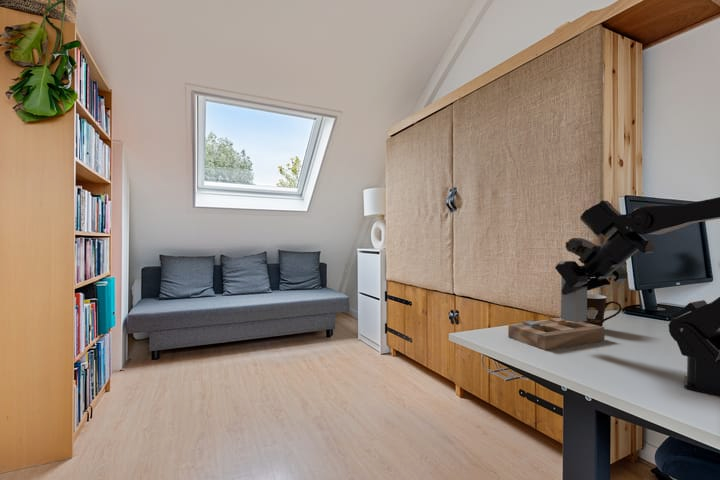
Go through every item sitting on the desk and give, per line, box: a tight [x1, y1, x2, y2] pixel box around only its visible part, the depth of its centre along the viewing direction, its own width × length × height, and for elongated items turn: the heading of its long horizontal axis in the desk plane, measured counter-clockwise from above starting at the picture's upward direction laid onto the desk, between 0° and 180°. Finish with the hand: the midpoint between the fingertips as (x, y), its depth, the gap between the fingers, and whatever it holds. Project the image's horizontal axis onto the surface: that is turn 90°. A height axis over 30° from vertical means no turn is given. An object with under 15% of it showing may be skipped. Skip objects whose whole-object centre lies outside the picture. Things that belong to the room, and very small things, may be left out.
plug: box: [560, 275, 588, 323], centre depth 91 cm, size 4×4×14 cm
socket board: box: [507, 317, 605, 351], centre depth 100 cm, size 12×22×4 cm, turn 112°
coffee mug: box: [583, 293, 622, 327], centre depth 109 cm, size 12×9×10 cm
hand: (568, 292), depth 92 cm, fingers closed on plug, 4 cm apart
